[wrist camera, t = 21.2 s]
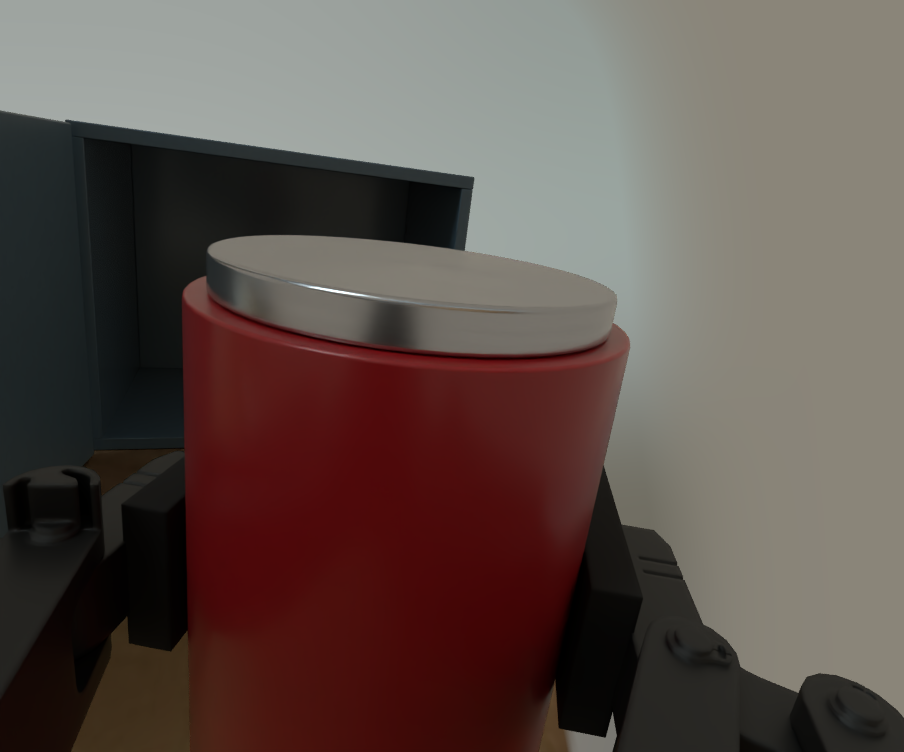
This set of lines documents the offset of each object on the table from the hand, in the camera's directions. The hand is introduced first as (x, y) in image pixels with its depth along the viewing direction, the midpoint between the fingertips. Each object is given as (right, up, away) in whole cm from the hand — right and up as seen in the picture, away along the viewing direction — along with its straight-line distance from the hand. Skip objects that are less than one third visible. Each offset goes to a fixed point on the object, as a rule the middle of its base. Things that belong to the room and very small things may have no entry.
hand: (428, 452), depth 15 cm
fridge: (-14, 0, +32) cm, 35 cm away
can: (-1, -8, -3) cm, 8 cm away
